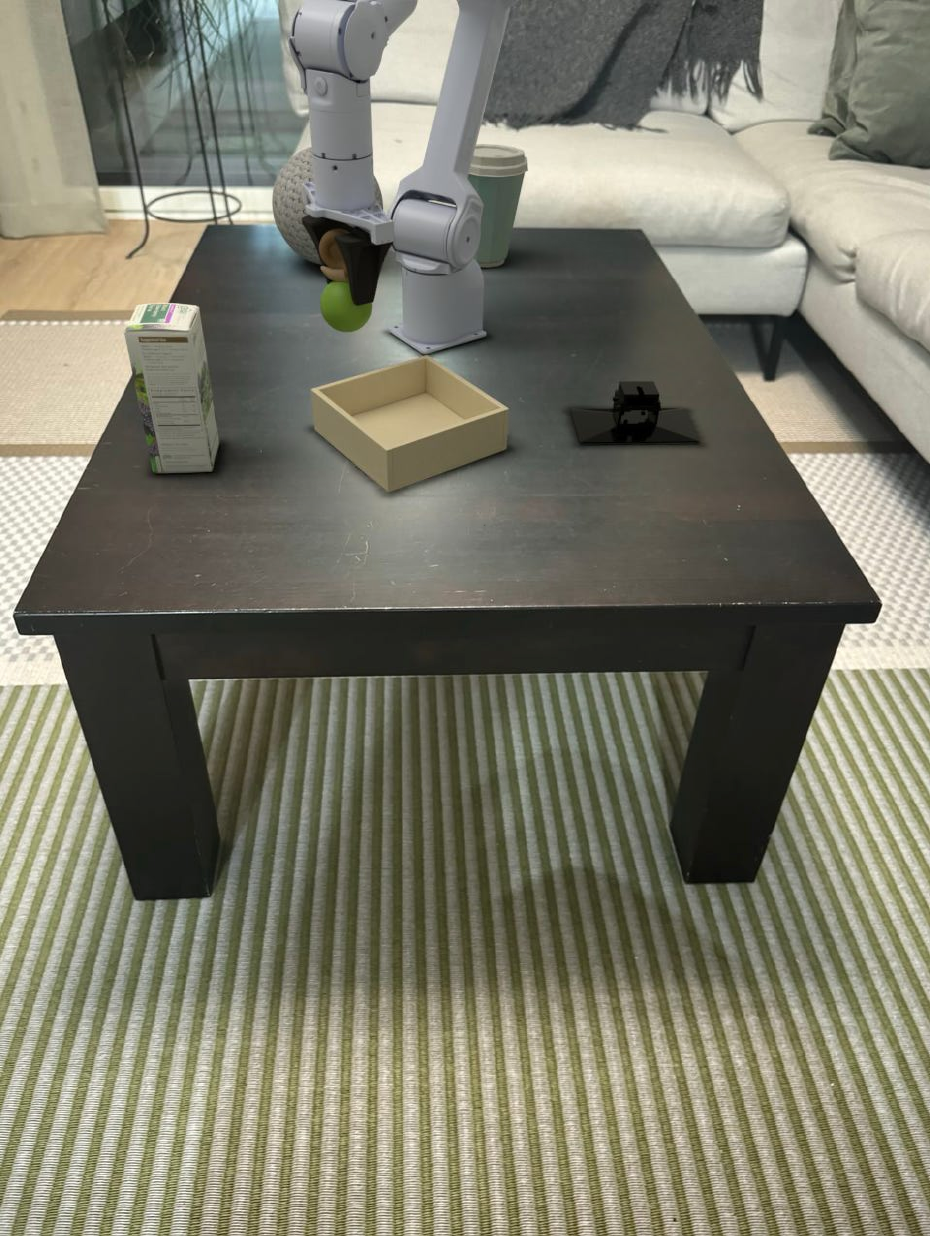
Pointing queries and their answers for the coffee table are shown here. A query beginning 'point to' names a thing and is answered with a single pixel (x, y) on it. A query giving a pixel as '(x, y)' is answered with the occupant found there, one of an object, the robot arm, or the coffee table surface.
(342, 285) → the snail figurine
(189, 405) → the syrup box
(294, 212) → the decorative ball
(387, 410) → the tray
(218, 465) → the coffee table surface
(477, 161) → the disposable coffee cup
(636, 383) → the build plate
